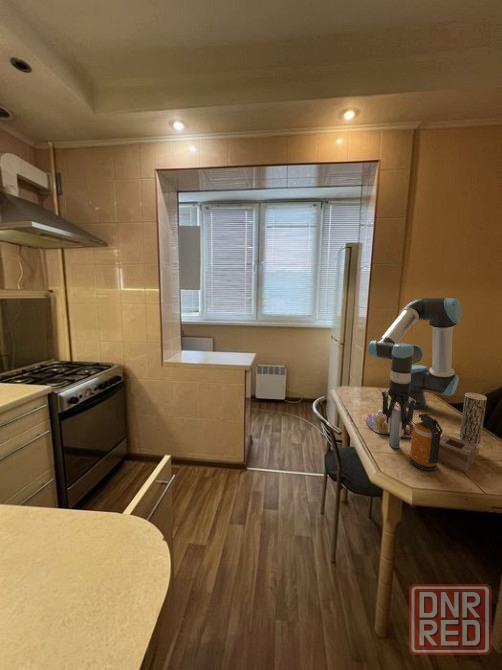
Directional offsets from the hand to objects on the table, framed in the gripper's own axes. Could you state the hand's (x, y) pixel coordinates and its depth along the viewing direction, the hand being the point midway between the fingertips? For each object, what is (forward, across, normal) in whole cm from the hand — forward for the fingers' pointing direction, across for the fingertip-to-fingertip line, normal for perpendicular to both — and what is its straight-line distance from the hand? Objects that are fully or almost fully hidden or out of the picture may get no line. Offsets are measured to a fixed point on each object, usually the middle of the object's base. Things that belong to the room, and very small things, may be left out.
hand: (395, 433), depth 120 cm
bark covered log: (+7, +21, +20) cm, 30 cm away
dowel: (+6, 0, 0) cm, 6 cm away
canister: (+6, +14, -5) cm, 16 cm away
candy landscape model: (+7, -10, +18) cm, 22 cm away
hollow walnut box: (+6, +19, +9) cm, 22 cm away
